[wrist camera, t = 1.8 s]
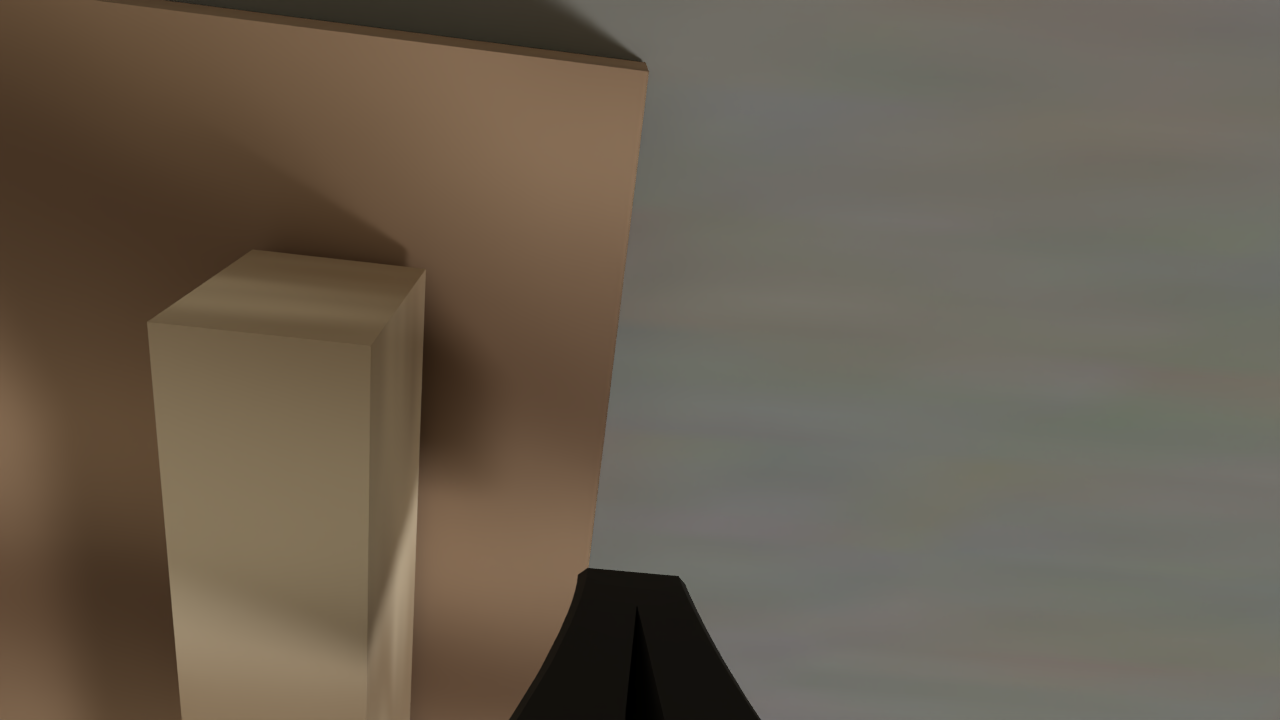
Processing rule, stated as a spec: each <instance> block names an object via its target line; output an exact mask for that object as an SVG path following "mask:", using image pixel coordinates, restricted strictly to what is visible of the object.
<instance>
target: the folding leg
mask: <svg viewBox="0 0 1280 720" xmlns="http://www.w3.org/2000/svg"><path fill="white" fill-rule="evenodd" d="M425 281H426V269H422V268H413V267H404V266H395V265H386V264H377V263H369V262H360V261H351V260H342V259H333V258H324V257H315V256H306V255H297V254H289V253H280V252H271V251H262V250H251V251H250V252H248V253H247V254H245V255H244V256H242V257H241V258H239V259H238V260H237V261H235V262H234V263H232V264H231V265H229V266H228V267H226V268H225V269H223V270H222V271H221V272H219V273H218V274H216V275H215V276H213V277H212V278H210V279H209V280H207V281H206V282H205V283H203V284H202V285H200V286H199V287H197V288H196V289H194V290H193V291H191V292H190V293H188V294H187V295H186V296H184V297H183V298H181V299H180V300H178V301H177V302H175V303H174V304H172V305H171V306H170V307H168V308H167V309H165V310H164V311H162V312H161V313H159V314H158V315H156V316H155V317H154V318H152V319H151V320H149V321H148V322H147V328H148V339H149V350H150V362H151V373H152V385H153V396H154V408H155V419H156V431H157V442H158V453H159V465H160V476H161V488H162V499H163V511H164V522H165V533H166V545H167V556H168V568H169V579H170V591H171V602H172V613H173V625H174V636H175V648H176V659H177V671H178V682H179V693H180V705H181V716H182V720H410V702H411V674H412V646H413V618H414V590H415V562H416V534H417V506H418V478H419V449H420V421H421V393H422V365H423V337H424V309H425Z"/></svg>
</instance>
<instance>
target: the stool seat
mask: <svg viewBox="0 0 1280 720" xmlns="http://www.w3.org/2000/svg"><path fill="white" fill-rule="evenodd" d="M648 74H649V71H648V68H647V65H646V63H645V62H638V61H630V60H622V59H615V58H607V57H599V56H591V55H584V54H576V53H568V52H560V51H553V50H545V49H537V48H530V47H522V46H514V45H506V44H499V43H491V42H483V41H475V40H468V39H460V38H452V37H444V36H437V35H429V34H421V33H413V32H406V31H398V30H390V29H382V28H375V27H367V26H359V25H352V24H344V23H336V22H328V21H321V20H313V19H305V18H297V17H290V16H282V15H274V14H266V13H259V12H251V11H243V10H235V9H228V8H220V7H212V6H204V5H197V4H189V3H181V2H173V1H166V0H0V720H182V716H181V705H180V693H179V682H178V671H177V659H176V648H175V636H174V625H173V613H172V602H171V591H170V579H169V568H168V556H167V545H166V533H165V522H164V511H163V499H162V488H161V476H160V465H159V453H158V442H157V431H156V419H155V408H154V396H153V385H152V373H151V362H150V350H149V339H148V328H147V322H148V321H149V320H151V319H152V318H154V317H155V316H156V315H158V314H159V313H161V312H162V311H164V310H165V309H167V308H168V307H170V306H171V305H172V304H174V303H175V302H177V301H178V300H180V299H181V298H183V297H184V296H186V295H187V294H188V293H190V292H191V291H193V290H194V289H196V288H197V287H199V286H200V285H202V284H203V283H205V282H206V281H207V280H209V279H210V278H212V277H213V276H215V275H216V274H218V273H219V272H221V271H222V270H223V269H225V268H226V267H228V266H229V265H231V264H232V263H234V262H235V261H237V260H238V259H239V258H241V257H242V256H244V255H245V254H247V253H248V252H250V251H251V250H262V251H271V252H280V253H289V254H297V255H306V256H315V257H324V258H333V259H342V260H351V261H360V262H369V263H377V264H386V265H395V266H404V267H413V268H422V269H426V281H425V309H424V337H423V365H422V393H421V421H420V449H419V478H418V506H417V534H416V562H415V590H414V618H413V646H412V674H411V702H410V720H509V719H510V717H511V716H512V714H513V713H514V711H515V709H516V708H517V706H518V704H519V703H520V701H521V700H522V698H523V696H524V695H525V693H526V692H527V690H528V688H529V687H530V685H531V684H532V682H533V680H534V679H535V677H536V675H537V674H538V672H539V670H540V668H541V666H542V664H543V663H544V661H545V659H546V657H547V655H548V653H549V651H550V649H551V647H552V645H553V643H554V641H555V639H556V637H557V635H558V633H559V631H560V629H561V627H562V624H563V622H564V620H565V617H566V615H567V613H568V610H569V608H570V605H571V602H572V599H573V596H574V592H575V589H576V585H577V577H578V574H579V573H581V572H582V571H584V570H585V569H587V568H588V566H589V558H590V550H591V542H592V534H593V525H594V517H595V509H596V501H597V493H598V484H599V476H600V468H601V460H602V451H603V443H604V435H605V427H606V419H607V410H608V402H609V394H610V386H611V378H612V369H613V361H614V353H615V345H616V337H617V328H618V320H619V312H620V304H621V296H622V287H623V279H624V271H625V263H626V255H627V246H628V238H629V230H630V222H631V213H632V205H633V197H634V189H635V181H636V172H637V164H638V156H639V148H640V140H641V131H642V123H643V115H644V107H645V99H646V90H647V82H648Z"/></svg>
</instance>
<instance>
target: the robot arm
mask: <svg viewBox="0 0 1280 720" xmlns="http://www.w3.org/2000/svg"><path fill="white" fill-rule="evenodd" d="M509 720H761V719H760V718H759V716H758V715H757V713H756V712H755V710H754V709H753V707H752V706H751V704H750V703H749V701H748V700H747V698H746V697H745V695H744V693H743V692H742V690H741V688H740V687H739V685H738V683H737V682H736V680H735V678H734V677H733V675H732V674H731V672H730V670H729V669H728V667H727V665H726V664H725V662H724V660H723V659H722V657H721V655H720V653H719V651H718V650H717V648H716V646H715V644H714V642H713V641H712V639H711V637H710V635H709V633H708V631H707V629H706V627H705V626H704V624H703V622H702V620H701V618H700V616H699V614H698V612H697V610H696V607H695V605H694V603H693V601H692V599H691V597H690V595H689V592H688V590H687V588H686V585H685V584H684V582H683V581H682V580H681V579H680V578H679V576H670V575H659V574H648V573H637V572H626V571H615V570H604V569H593V568H587V569H585V570H584V571H582V572H581V573H579V574H578V577H577V585H576V589H575V592H574V596H573V599H572V602H571V605H570V608H569V610H568V613H567V615H566V617H565V620H564V622H563V624H562V627H561V629H560V631H559V633H558V635H557V637H556V639H555V641H554V643H553V645H552V647H551V649H550V651H549V653H548V655H547V657H546V659H545V661H544V663H543V664H542V666H541V668H540V670H539V672H538V674H537V675H536V677H535V679H534V680H533V682H532V684H531V685H530V687H529V688H528V690H527V692H526V693H525V695H524V696H523V698H522V700H521V701H520V703H519V704H518V706H517V708H516V709H515V711H514V713H513V714H512V716H511V717H510V719H509Z"/></svg>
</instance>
